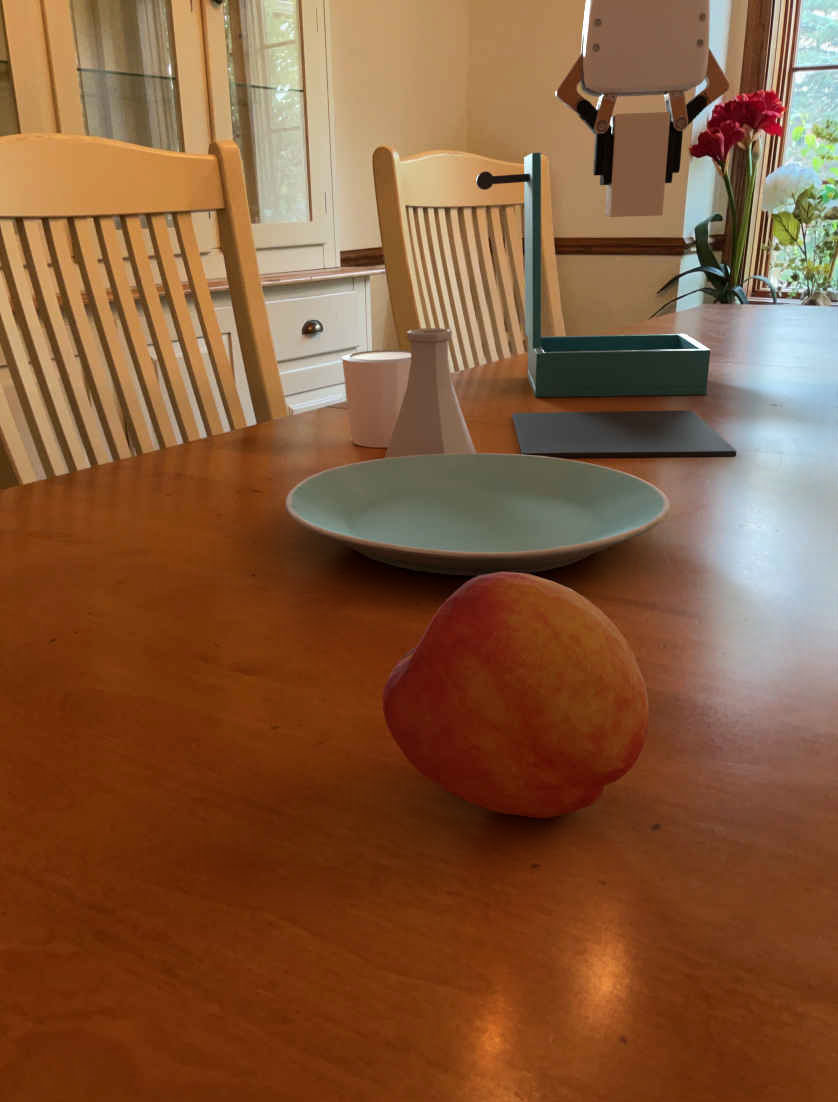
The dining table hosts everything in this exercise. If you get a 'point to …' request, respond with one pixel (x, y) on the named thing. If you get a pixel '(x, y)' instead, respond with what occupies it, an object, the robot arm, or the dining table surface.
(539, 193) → the lunchbox lid
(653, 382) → the box
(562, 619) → the fruit
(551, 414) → the mat
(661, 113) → the beige rectangular block
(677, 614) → the dining table surface
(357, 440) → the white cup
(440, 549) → the plate
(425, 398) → the flask
